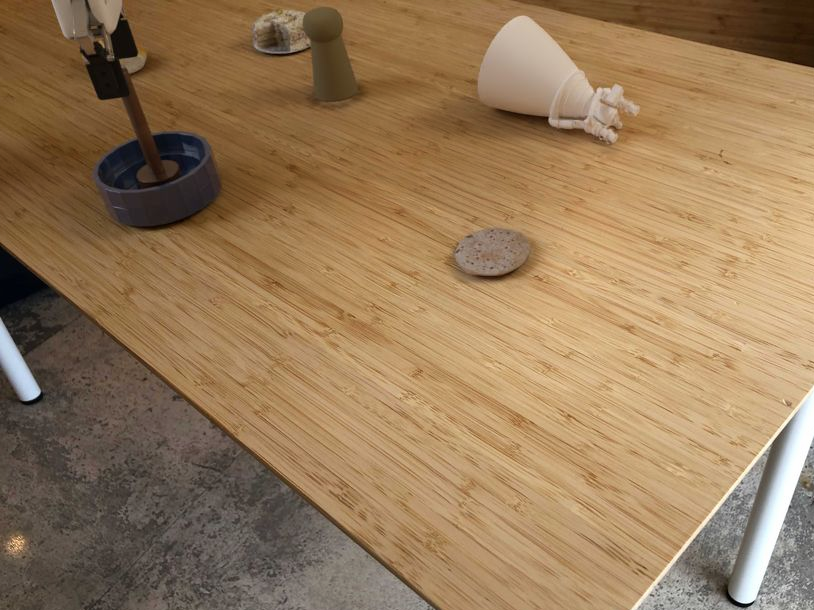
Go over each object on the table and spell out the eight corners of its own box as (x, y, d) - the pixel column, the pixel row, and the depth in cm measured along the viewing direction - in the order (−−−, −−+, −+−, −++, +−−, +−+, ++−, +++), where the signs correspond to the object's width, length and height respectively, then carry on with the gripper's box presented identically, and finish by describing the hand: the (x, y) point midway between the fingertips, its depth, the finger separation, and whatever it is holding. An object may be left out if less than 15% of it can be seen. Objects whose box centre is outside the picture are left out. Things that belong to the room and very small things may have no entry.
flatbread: (475, 226, 90) (474, 218, 89) (542, 240, 87) (541, 232, 86) (441, 271, 85) (440, 263, 84) (510, 288, 82) (510, 280, 81)
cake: (267, 32, 134) (260, -4, 131) (327, 33, 132) (322, -3, 129) (242, 54, 126) (234, 18, 123) (305, 56, 125) (299, 19, 121)
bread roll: (128, 50, 132) (119, 24, 129) (156, 65, 127) (147, 39, 124) (79, 69, 128) (68, 43, 125) (106, 85, 123) (96, 59, 120)
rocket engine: (648, 62, 93) (518, -3, 99) (590, 153, 95) (465, 83, 101) (661, 101, 104) (543, 41, 110) (609, 182, 105) (495, 118, 111)
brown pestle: (143, 207, 97) (93, 85, 87) (146, 186, 101) (98, 65, 90) (185, 200, 98) (141, 77, 87) (187, 178, 101) (144, 58, 91)
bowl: (103, 239, 94) (85, 201, 91) (114, 178, 104) (99, 142, 100) (222, 218, 95) (209, 179, 92) (223, 159, 105) (211, 123, 101)
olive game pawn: (306, 99, 115) (288, 18, 107) (326, 79, 119) (310, 0, 111) (346, 103, 113) (330, 21, 106) (365, 82, 117) (351, 2, 110)
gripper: (32, -117, 85) (94, 48, 97) (-3, -62, 73) (72, 120, 84) (108, -126, 86) (160, 39, 98) (86, -73, 73) (149, 108, 85)
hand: (119, 76), depth 91 cm, fingers open, 9 cm apart
